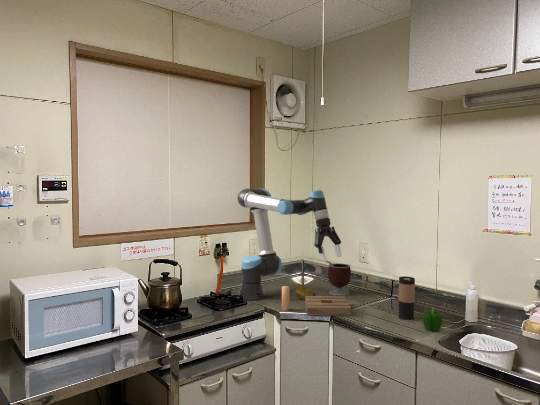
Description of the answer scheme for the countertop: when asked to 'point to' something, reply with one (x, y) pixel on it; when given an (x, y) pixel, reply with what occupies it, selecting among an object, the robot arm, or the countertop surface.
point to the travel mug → (406, 297)
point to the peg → (285, 298)
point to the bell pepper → (432, 320)
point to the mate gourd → (339, 277)
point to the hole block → (327, 305)
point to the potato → (303, 291)
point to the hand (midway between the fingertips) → (331, 258)
